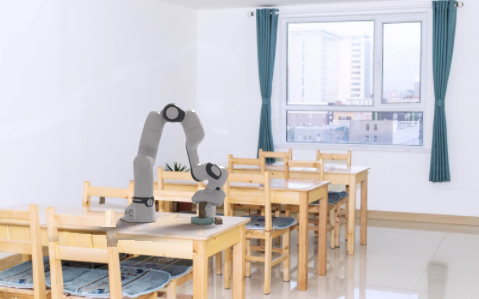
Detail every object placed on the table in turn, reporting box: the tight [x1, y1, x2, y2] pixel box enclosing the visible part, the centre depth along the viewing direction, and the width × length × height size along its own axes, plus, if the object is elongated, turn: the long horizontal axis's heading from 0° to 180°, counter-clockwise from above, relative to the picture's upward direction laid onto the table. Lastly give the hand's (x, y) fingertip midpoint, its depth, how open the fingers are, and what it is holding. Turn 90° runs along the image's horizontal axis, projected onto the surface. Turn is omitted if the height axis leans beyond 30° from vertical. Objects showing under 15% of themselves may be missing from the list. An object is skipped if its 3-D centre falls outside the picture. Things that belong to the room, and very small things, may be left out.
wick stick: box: [198, 201, 206, 219], centre depth 340 cm, size 3×3×10 cm
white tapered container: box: [206, 205, 217, 221], centre depth 356 cm, size 10×10×12 cm
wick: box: [214, 216, 224, 225], centre depth 344 cm, size 10×3×3 cm, turn 11°
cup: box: [190, 215, 214, 226], centre depth 340 cm, size 9×9×4 cm
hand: (201, 209), depth 340 cm, fingers closed on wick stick, 3 cm apart
